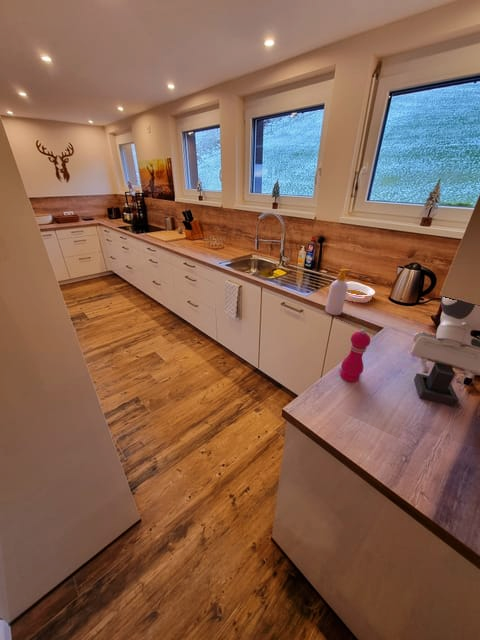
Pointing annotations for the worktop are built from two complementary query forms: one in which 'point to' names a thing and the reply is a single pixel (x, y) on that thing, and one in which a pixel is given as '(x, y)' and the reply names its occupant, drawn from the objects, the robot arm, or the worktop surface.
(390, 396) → the worktop surface
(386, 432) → the worktop surface
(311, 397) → the worktop surface
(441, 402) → the base pad
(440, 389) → the dark grey block
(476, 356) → the robot arm
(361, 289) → the white oval dish
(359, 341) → the pepper mill
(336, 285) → the soap bottle
